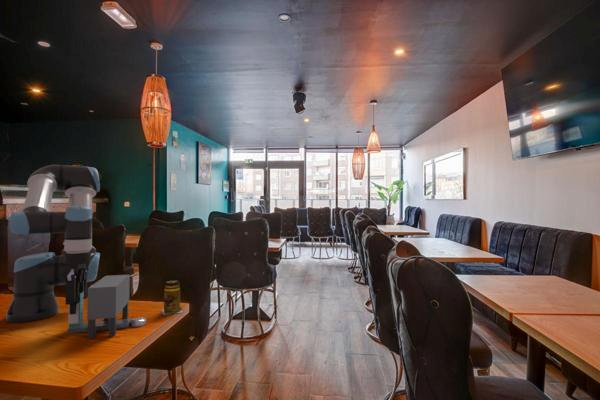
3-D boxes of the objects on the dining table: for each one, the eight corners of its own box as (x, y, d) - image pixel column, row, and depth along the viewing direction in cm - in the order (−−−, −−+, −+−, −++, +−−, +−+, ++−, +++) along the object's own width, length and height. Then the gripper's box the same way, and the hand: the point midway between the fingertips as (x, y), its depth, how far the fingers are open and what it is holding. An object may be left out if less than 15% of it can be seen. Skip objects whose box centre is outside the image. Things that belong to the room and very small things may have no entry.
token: (132, 323, 111) (132, 318, 111) (147, 321, 112) (147, 316, 112) (128, 328, 106) (128, 323, 106) (144, 326, 107) (144, 321, 107)
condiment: (162, 315, 118) (163, 284, 118) (161, 308, 126) (162, 279, 126) (182, 312, 121) (183, 282, 121) (180, 306, 129) (181, 278, 129)
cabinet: (104, 318, 114) (105, 275, 114) (128, 316, 116) (129, 274, 117) (86, 339, 97) (87, 288, 97) (115, 336, 99) (116, 286, 99)
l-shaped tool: (67, 333, 101) (68, 295, 101) (73, 327, 105) (74, 291, 106) (128, 327, 106) (129, 291, 106) (132, 322, 111) (132, 287, 111)
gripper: (74, 248, 111) (73, 314, 110) (53, 255, 95) (51, 331, 95) (98, 248, 113) (96, 312, 112) (81, 254, 97) (79, 329, 97)
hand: (75, 320), depth 103 cm, fingers closed on l-shaped tool, 3 cm apart
